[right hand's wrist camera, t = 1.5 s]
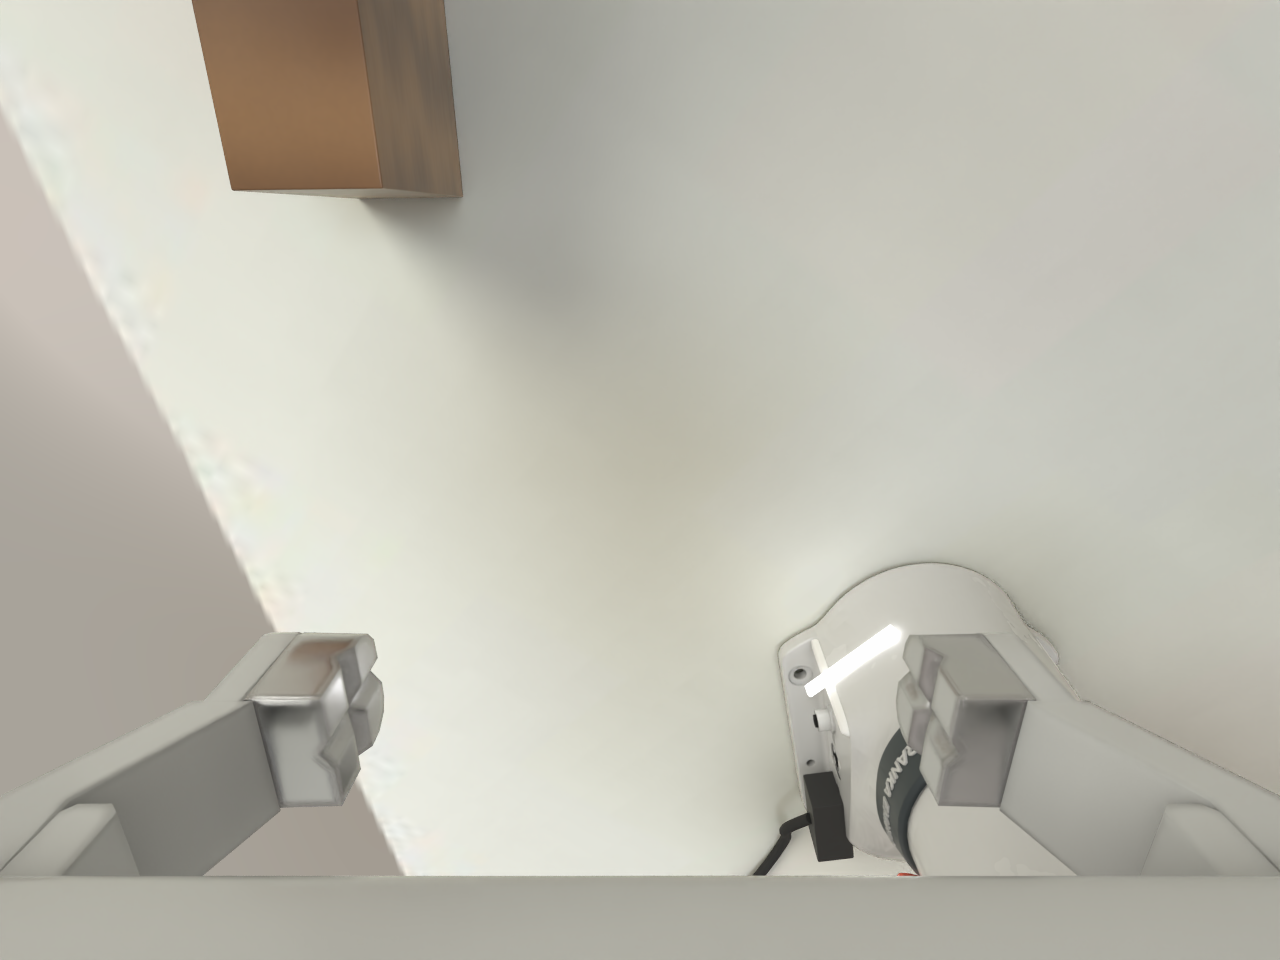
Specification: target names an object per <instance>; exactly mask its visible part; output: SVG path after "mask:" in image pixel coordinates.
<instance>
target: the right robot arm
mask: <svg viewBox="0 0 1280 960" xmlns="http://www.w3.org/2000/svg"><path fill="white" fill-rule="evenodd" d="M377 658H378V657H377V652H376V648H375V643H374V639H373V638H372V637H371V636H370V635H368V634H352V633H300V632H272V633H268V634H265V635H262V637H261V638H260V639H259V640H258V641H257V642H256V643H255V644H254V645H253V647H251V649H250V650H249V651H248V652H247V653H246V654H245V655H244V656H243V657H242V659H241V660H240V661H239V662H238V663H237V664H236V665H235V666H234V668H233V669H232V670H231V671H230V672H229V673H228V674H227V675H226V676H225V677H224V678H223V680H222V681H221V682H220V683H219V684H218V685H217V686H216V687H215V688H214V690H213V691H212V692H211V693H210V694H209V695H208V696H207V697H206V698H205V700H204V701H191V702H189V703H187V704H185V705H183V706H181V707H179V708H177V709H175V710H173V711H171V712H169V713H167V714H165V715H163V716H161V717H159V718H157V719H155V720H153V721H151V722H149V723H147V724H145V725H143V726H141V727H139V728H137V729H135V730H132V731H130V732H129V733H126V734H124V735H122V736H120V737H118V738H116V739H114V740H112V741H110V742H108V743H106V744H104V745H102V746H100V747H98V748H96V749H94V750H92V751H90V752H88V753H86V754H84V755H82V756H80V757H78V758H76V759H74V760H72V761H70V762H68V763H66V764H64V765H62V766H60V767H58V768H56V769H54V770H52V771H50V772H47V773H46V774H43V775H41V776H39V777H37V778H35V779H33V780H31V781H29V782H27V783H25V784H23V785H21V786H19V787H17V788H15V789H13V790H11V791H9V792H7V793H5V794H3V795H1V796H0V960H1280V796H1279V795H1277V794H1275V793H1273V792H1270V791H1268V790H1266V789H1264V788H1262V787H1260V786H1258V785H1256V784H1254V783H1252V782H1250V781H1248V780H1246V779H1244V778H1242V777H1240V776H1238V775H1236V774H1234V773H1232V772H1230V771H1228V770H1226V769H1224V768H1222V767H1220V766H1218V765H1216V764H1214V763H1212V762H1210V761H1208V760H1206V759H1204V758H1202V757H1200V756H1198V755H1196V754H1194V753H1192V752H1190V751H1188V750H1186V749H1184V748H1182V747H1180V746H1178V745H1176V744H1174V743H1172V742H1170V741H1168V740H1166V739H1163V738H1161V737H1159V736H1157V735H1155V734H1153V733H1151V732H1149V731H1147V730H1145V729H1143V728H1141V727H1139V726H1137V725H1135V724H1133V723H1131V722H1129V721H1127V720H1125V719H1123V718H1121V717H1119V716H1117V715H1115V714H1113V713H1111V712H1109V711H1107V710H1105V709H1103V708H1101V707H1099V706H1097V705H1095V704H1093V703H1091V702H1089V701H1081V699H1080V698H1079V697H1078V695H1077V694H1076V692H1075V691H1074V689H1073V688H1072V687H1071V685H1070V684H1069V682H1068V681H1067V680H1066V678H1065V677H1064V676H1063V674H1062V673H1061V671H1060V670H1059V669H1058V667H1057V663H1058V660H1059V656H1058V653H1057V651H1056V649H1055V648H1054V647H1053V645H1052V644H1051V643H1050V641H1049V640H1048V639H1047V638H1045V637H1044V636H1043V635H1041V634H1040V633H1038V632H1037V631H1035V630H1034V629H1032V628H1030V627H1029V626H1027V625H1026V624H1025V623H1024V622H1023V620H1022V618H1021V617H1020V615H1019V613H1018V612H1017V610H1016V608H1015V607H1014V605H1013V603H1012V601H1011V600H1010V598H1009V597H1008V596H1007V595H1006V593H1005V592H1004V591H1003V590H1002V589H1001V588H1000V587H999V586H998V585H996V584H995V583H994V582H993V581H991V580H990V579H988V578H987V577H985V576H983V575H981V574H979V573H977V572H975V571H973V570H970V569H967V568H964V567H960V566H956V565H950V564H942V563H920V564H912V565H906V566H901V567H897V568H894V569H890V570H887V571H885V572H882V573H879V574H877V575H875V576H873V577H871V578H869V579H867V580H865V581H863V582H862V583H860V584H858V585H857V586H855V587H854V588H853V589H851V590H850V591H849V592H847V593H846V594H845V595H844V596H843V597H841V598H840V599H839V600H838V601H837V602H836V603H835V604H834V606H833V607H832V608H831V609H830V610H829V611H828V612H827V614H826V615H825V616H824V617H823V618H822V619H821V620H820V621H819V622H818V623H817V624H816V625H814V626H813V627H811V628H809V629H807V630H805V631H803V632H801V633H799V634H797V635H796V636H794V637H792V638H791V639H789V640H788V641H786V642H785V643H784V644H783V645H782V646H781V648H780V649H779V652H778V660H779V667H780V673H781V679H782V685H783V692H784V698H785V704H786V710H787V717H788V723H789V729H790V735H791V741H792V748H793V754H794V760H795V766H796V773H797V779H798V785H799V791H800V796H801V799H802V802H803V804H804V807H805V809H806V810H807V813H806V814H803V815H801V816H799V817H796V818H794V819H791V820H789V821H787V822H785V823H784V824H783V825H782V826H781V827H780V834H781V837H780V839H779V840H778V842H777V843H776V845H775V846H774V848H773V849H772V851H771V852H770V854H769V855H768V856H767V858H766V859H765V860H764V862H763V863H762V864H761V866H760V867H759V868H758V869H757V871H756V872H755V873H754V874H753V875H752V876H203V875H204V874H205V873H206V872H208V871H209V870H210V869H211V868H212V867H214V866H215V865H216V864H217V863H218V862H220V861H221V860H222V859H223V858H224V857H226V856H227V855H228V854H229V853H230V852H232V851H233V850H234V849H235V848H236V847H238V846H239V845H240V844H241V843H242V842H244V841H245V840H246V839H247V838H248V837H250V836H251V835H252V834H253V833H254V832H256V831H257V830H258V829H259V828H260V827H262V826H263V825H264V824H265V823H266V822H268V821H269V820H270V819H271V818H272V817H274V816H275V815H276V814H277V813H278V812H280V808H283V807H317V806H342V805H343V803H344V801H345V799H346V797H347V795H348V793H349V791H350V789H351V787H352V785H353V783H354V781H355V779H356V777H357V775H358V773H359V772H360V770H361V768H360V762H359V757H358V756H359V755H360V754H361V753H363V752H364V751H366V750H367V749H369V748H370V747H371V746H373V744H374V741H375V739H376V737H377V735H378V733H379V731H380V726H381V722H382V717H383V713H384V693H383V687H382V682H381V681H380V680H379V679H378V678H377V677H376V676H375V675H374V674H373V673H372V672H371V671H370V670H371V668H372V667H373V665H374V663H375V661H376V660H377ZM798 669H803V671H802V672H800V673H795V671H796V670H798ZM808 825H809V829H810V833H811V837H812V841H813V844H814V848H815V852H816V856H817V859H818V862H822V861H831V860H839V859H848V858H853V857H854V856H853V846H855V847H856V848H858V849H859V850H861V851H863V852H865V853H867V854H870V855H873V856H876V857H879V858H883V859H888V860H894V861H903V862H907V863H908V864H909V865H910V867H911V868H912V869H913V870H914V871H915V872H916V874H917V875H913V874H908V873H899V874H898V875H897V876H765V875H766V874H767V873H768V871H769V870H770V869H771V868H772V866H773V865H774V864H775V862H776V861H777V860H778V858H779V857H780V855H781V854H782V853H783V851H784V850H785V848H786V846H787V845H788V843H789V842H790V840H791V832H793V831H795V830H797V829H800V828H802V827H805V826H808Z"/></svg>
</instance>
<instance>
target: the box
mask: <svg viewBox="0 0 1280 960" xmlns="http://www.w3.org/2000/svg"><path fill="white" fill-rule="evenodd" d="M192 4H193V9H194V13H195V18H196V23H197V28H198V32H199V37H200V42H201V47H202V51H203V56H204V61H205V65H206V70H207V75H208V80H209V84H210V89H211V94H212V99H213V103H214V108H215V113H216V118H217V122H218V127H219V132H220V137H221V141H222V146H223V151H224V156H225V160H226V165H227V170H228V174H229V179H230V184H231V189H232V190H233V191H247V192H262V193H278V194H294V195H310V196H325V197H341V198H357V199H364V198H443V197H463V194H462V183H461V173H460V163H459V153H458V142H457V132H456V122H455V112H454V102H453V91H452V81H451V71H450V61H449V50H448V40H447V30H446V20H445V10H444V0H192Z"/></svg>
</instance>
